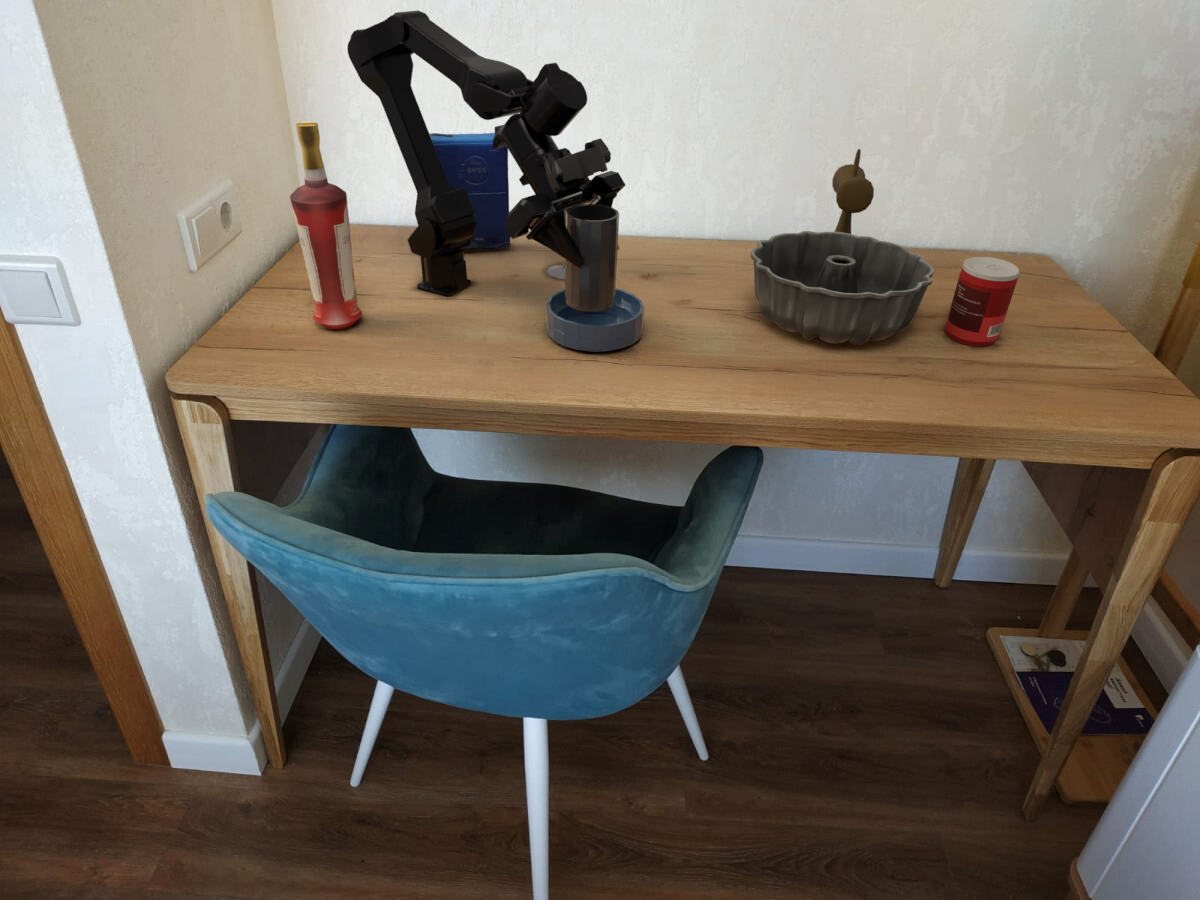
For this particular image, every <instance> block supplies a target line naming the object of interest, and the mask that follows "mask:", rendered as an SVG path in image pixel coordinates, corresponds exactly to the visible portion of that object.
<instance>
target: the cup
mask: <svg viewBox="0 0 1200 900" xmlns="http://www.w3.org/2000/svg"><path fill="white" fill-rule="evenodd" d="M619 226H620V213H619V210H618V209H616V208H615V207H613V206H612V207H608V206H604V205H596V204H583V205H577V206H573V207H571V208H569V209H568V210H567V211H566V228H567V230H568V232H569V234H570V235H571V237H572V239H573V241H574V243H575V244H576V246H577V248H578V250H579V252H580V254H581V256H582V258H583V260H584V265H583V266H581V267H580V268H578V267H577V266H575V265H574V264H572V263H571V262H569V261H568V260H566V259H565V263H566V273H565V281H564V283H565V286H564V290H565V297H566V304H567V305H568V306H569V307H571V308H573V309H576V310H579V311H586V312H598V311H603V310H607V309H609V308H611V307H612V306H613V305H614V303H615V292H616V288H617V273H618V272H617V271H618V269H617V268H618V251H619V250H618V246H619V230H620V229H619V228H620V227H619Z"/></svg>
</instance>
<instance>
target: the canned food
mask: <svg viewBox="0 0 1200 900" xmlns="http://www.w3.org/2000/svg"><path fill="white" fill-rule="evenodd" d="M1020 272H1021V271H1020V269H1019V267H1018V266H1017V265H1016V264H1014V263H1012V262H1010V261H1007V260H1005V259H1002V258H1001V259H1000V258H997V257H990V256H973V257H969V258H967V259H965V260H964V261H963V264H962V266H961V269H960V272H959V275H958V276H959V277H958V279H957V283H956V286H955V290H954V293H953V296H952V301H951V305H950V308H949V311H948V314H947V319H946V322H945V334H946V335H947V337H948V338H950V340H952V341H954V342H956V343H959V344H960V345H961V344H962V345H965V346H968V347H969V346H970V347H987V346H992V345H993V344H995V343H996V341H997V340H998V339H999V338H1000V334H1001V331H1002V328H1003V325H1004V322H1005V319H1006V316H1007V313H1008V310H1009V307H1010V304H1011V301H1012V298H1013V296H1014V292H1015V289H1016V286H1017V283H1018V279H1019V276H1020Z"/></svg>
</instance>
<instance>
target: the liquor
mask: <svg viewBox="0 0 1200 900" xmlns="http://www.w3.org/2000/svg"><path fill="white" fill-rule="evenodd" d="M295 126H296V132H297V139H298V142H299V144H300V147H301V153H302V167H303V178H304V179H303V180H304V184H303V185H301V186H299V187H297V188H296V189H295V190H294V191H293V192H292V193H291V194H290V196H289V199H290V203H291V207H292V212H293V216H294V221H295V225H296V231H297V235H298V239H299V243H300V247H301V251H302V255H303V259H304V263H305V267H306V272H307V276H308V281H309V285H310V290H311V295H312V301H313V305H314V310H315V311H314V314H313V317H312V319H313V320H314V321H315V322H317V323H318V324H320V326H323V327H324V328H326V329H328V330H335V331H336V330H345V329H348V328H350V327H352V326H353V325H355V323H356V322H358V320H359V319H360V318H361V316H362V315H363V311H362V309H360V307H359V306H358V297H357V296H358V295H357V290H356V289H357V288H356V281H355V271H354V261H353V251H352V249H353V248H352V238H351V237H352V236H351V235H352V233H351V226H350V225H351V224H350V215H349V208H348V207H349V205H348V196H347V192H346V190H344V189H342V188H341V187H339V186H338V185H336V184H333V183H329V181H328V176H327V173H326V169H325V165H324V161H323V157H322V153H321V149H320V145H321V143H320V142H321V138H320V137H321V136H320V131H319V124H318V122H315V121H302V122H301V121H300V122H298V123H296V124H295Z"/></svg>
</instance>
